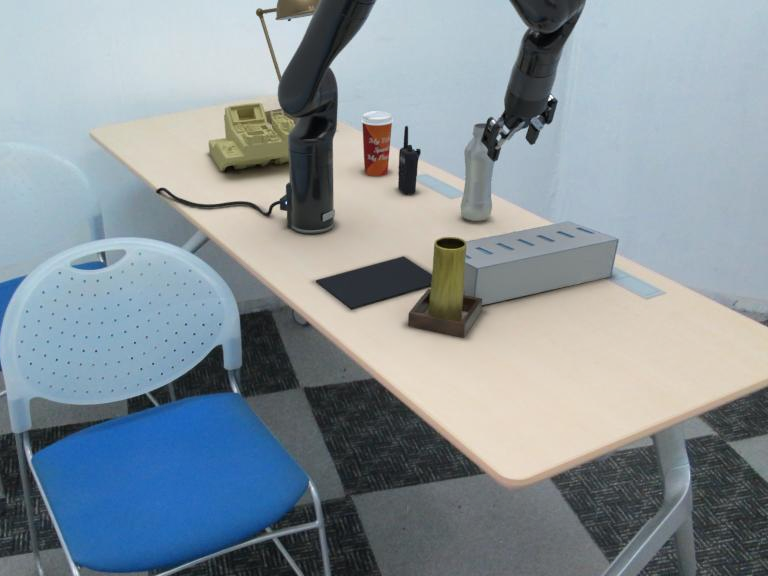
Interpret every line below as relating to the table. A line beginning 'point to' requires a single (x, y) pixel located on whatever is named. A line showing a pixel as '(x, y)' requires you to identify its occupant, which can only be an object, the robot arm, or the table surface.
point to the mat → (376, 282)
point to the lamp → (290, 5)
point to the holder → (444, 324)
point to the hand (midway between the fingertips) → (511, 149)
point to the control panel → (251, 138)
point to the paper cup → (376, 142)
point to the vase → (448, 278)
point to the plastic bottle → (477, 178)
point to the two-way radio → (408, 166)
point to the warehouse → (536, 261)
